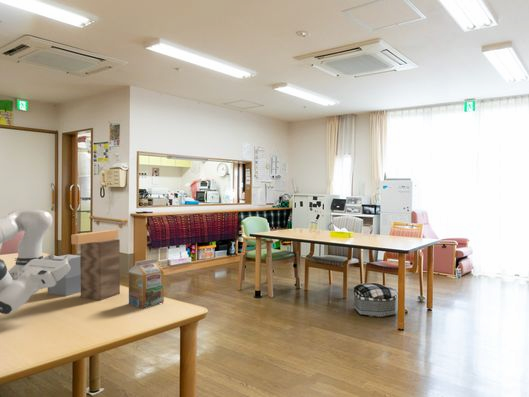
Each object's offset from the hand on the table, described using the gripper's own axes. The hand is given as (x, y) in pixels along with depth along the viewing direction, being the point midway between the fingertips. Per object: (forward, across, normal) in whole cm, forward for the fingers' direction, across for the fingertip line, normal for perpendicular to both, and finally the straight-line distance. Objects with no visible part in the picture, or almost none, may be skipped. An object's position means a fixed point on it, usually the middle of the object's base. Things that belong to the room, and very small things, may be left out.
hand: (60, 255), depth 167 cm
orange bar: (+19, 0, -6) cm, 20 cm away
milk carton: (+6, +28, -29) cm, 41 cm away
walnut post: (+8, 0, -30) cm, 31 cm away
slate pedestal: (+7, -20, -29) cm, 36 cm away
